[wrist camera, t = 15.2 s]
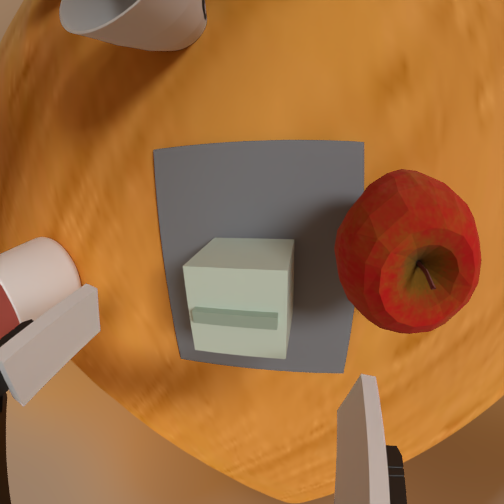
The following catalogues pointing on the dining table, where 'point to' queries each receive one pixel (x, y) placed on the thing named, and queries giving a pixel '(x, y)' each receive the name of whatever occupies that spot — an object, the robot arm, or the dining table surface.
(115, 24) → the cup
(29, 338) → the robot arm
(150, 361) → the dining table surface
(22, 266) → the cup
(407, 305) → the apple
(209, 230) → the grey piece
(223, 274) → the pale green block
